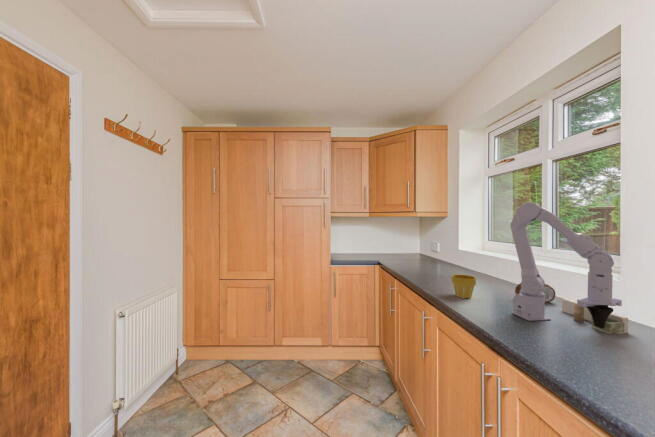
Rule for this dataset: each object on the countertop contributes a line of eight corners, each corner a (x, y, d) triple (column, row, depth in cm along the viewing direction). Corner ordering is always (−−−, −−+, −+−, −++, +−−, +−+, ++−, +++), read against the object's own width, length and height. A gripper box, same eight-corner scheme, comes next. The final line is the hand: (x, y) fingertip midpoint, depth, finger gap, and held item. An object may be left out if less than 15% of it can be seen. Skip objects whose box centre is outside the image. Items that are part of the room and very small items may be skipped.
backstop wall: (622, 333, 86) (622, 318, 86) (562, 311, 106) (562, 298, 106) (627, 332, 86) (628, 317, 86) (566, 310, 106) (566, 298, 106)
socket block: (610, 334, 85) (610, 323, 85) (591, 327, 90) (591, 317, 90) (624, 333, 85) (624, 322, 85) (604, 326, 91) (605, 316, 91)
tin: (552, 301, 118) (552, 283, 117) (556, 304, 114) (556, 285, 114) (514, 299, 121) (514, 281, 121) (517, 301, 118) (518, 283, 118)
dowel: (579, 322, 94) (579, 306, 94) (572, 319, 97) (572, 303, 97) (585, 322, 95) (585, 305, 95) (578, 319, 97) (578, 303, 97)
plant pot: (474, 295, 127) (474, 275, 127) (477, 301, 118) (477, 279, 118) (451, 292, 132) (451, 273, 131) (452, 298, 122) (452, 277, 122)
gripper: (594, 291, 82) (593, 333, 83) (633, 289, 84) (632, 331, 84) (571, 285, 89) (570, 324, 90) (607, 284, 91) (607, 322, 91)
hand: (598, 327), depth 87 cm, fingers closed
